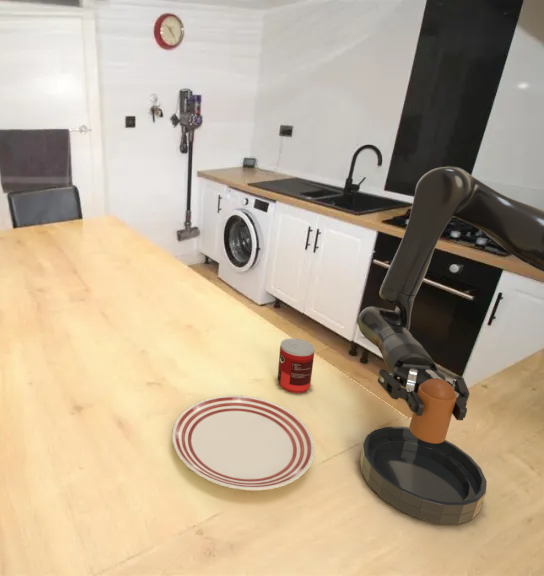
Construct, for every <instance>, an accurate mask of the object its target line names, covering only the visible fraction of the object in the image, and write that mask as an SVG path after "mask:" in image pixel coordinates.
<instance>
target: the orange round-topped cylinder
mask: <svg viewBox="0 0 544 576" xmlns="http://www.w3.org/2000/svg"><path fill="white" fill-rule="evenodd" d="M417 394H418V396H419V398H420V400H421V401H422V403H423V405H424V409H423V413H422V416H418V415H416V414H415V412H412V414H411V419H410V423H409V427H408V428H409V429H410V431H411V433H412V434H413V435H414V436H415V437H417V438H419V439H420V440H423V441H425V442H428V443H435V444H438V443H442V442H444V441H445V440H446V438H447V435H448V430H449V426H450V424H451V420H452V417H453V414H452V413H453V409H454V406H455V402H456V398H457V395H456V393H455V392H454V389H453V387H452V386H451V385H450V384H449V383H448V382H446V381H444V380H442V379H438V378H432V379H428V380H426V381H425V382H424V383H422V384H420V385H419V389H418V393H417Z"/></svg>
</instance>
